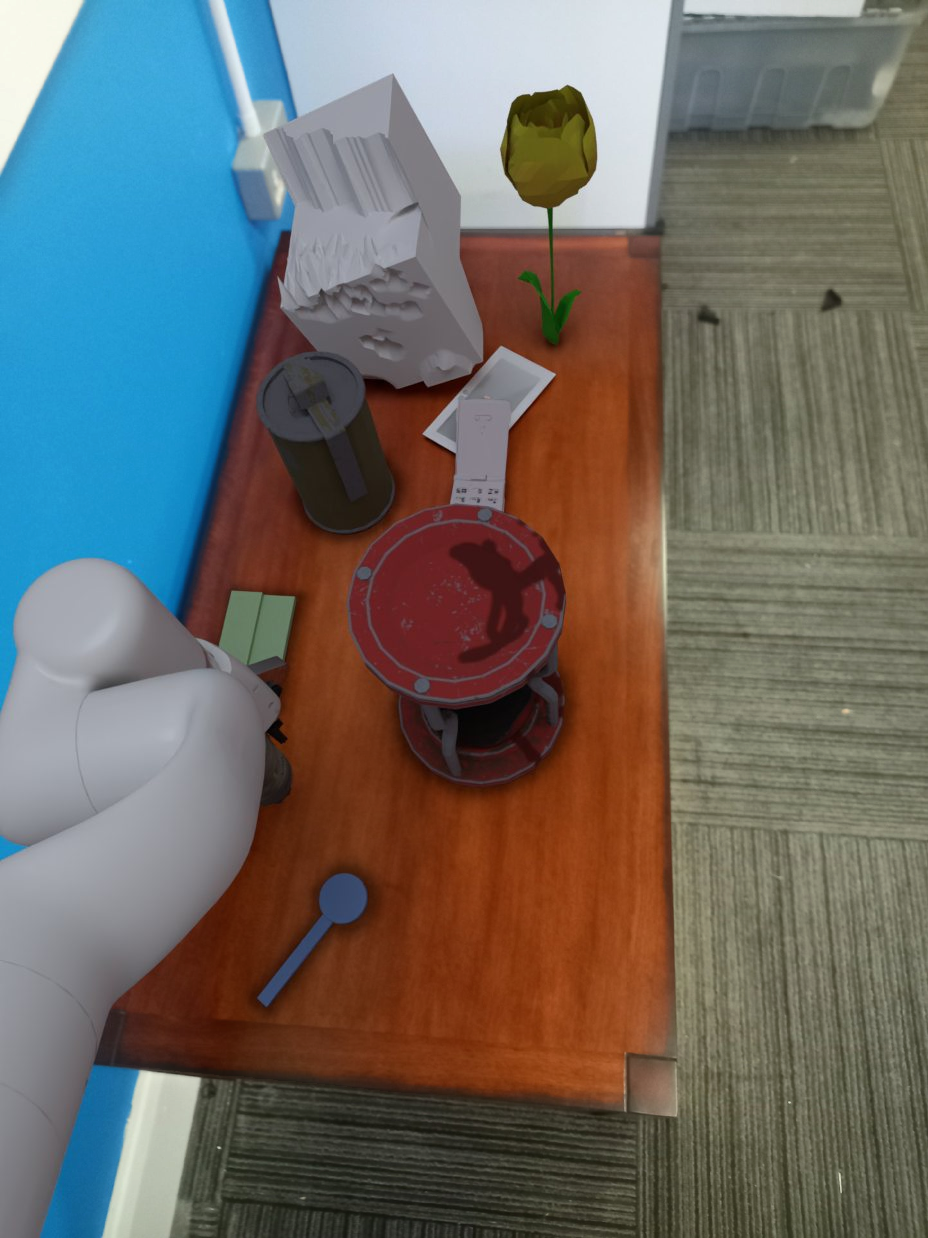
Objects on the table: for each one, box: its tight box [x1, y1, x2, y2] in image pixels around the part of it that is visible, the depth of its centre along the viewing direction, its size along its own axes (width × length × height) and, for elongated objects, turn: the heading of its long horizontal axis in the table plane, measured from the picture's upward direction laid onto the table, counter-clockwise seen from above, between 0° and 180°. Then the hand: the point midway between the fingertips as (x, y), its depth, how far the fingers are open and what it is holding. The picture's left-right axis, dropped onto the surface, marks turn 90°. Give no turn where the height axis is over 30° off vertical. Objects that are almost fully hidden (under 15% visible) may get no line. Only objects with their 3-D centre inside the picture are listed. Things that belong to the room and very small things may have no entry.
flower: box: [499, 84, 598, 346], centre depth 92 cm, size 9×8×30 cm
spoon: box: [256, 872, 369, 1008], centre depth 80 cm, size 13×4×1 cm, turn 142°
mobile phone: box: [449, 399, 511, 512], centre depth 93 cm, size 6×6×25 cm
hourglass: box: [346, 503, 567, 789], centre depth 76 cm, size 16×16×25 cm
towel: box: [218, 590, 298, 666], centre depth 92 cm, size 12×7×1 cm, turn 174°
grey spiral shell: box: [259, 732, 294, 808], centre depth 77 cm, size 6×6×15 cm
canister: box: [255, 350, 396, 535], centre depth 90 cm, size 11×10×20 cm
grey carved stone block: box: [262, 73, 484, 390], centre depth 97 cm, size 20×16×25 cm
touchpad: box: [422, 345, 557, 454], centre depth 101 cm, size 8×15×2 cm, turn 143°
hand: (247, 760), depth 75 cm, fingers closed on grey spiral shell, 5 cm apart
